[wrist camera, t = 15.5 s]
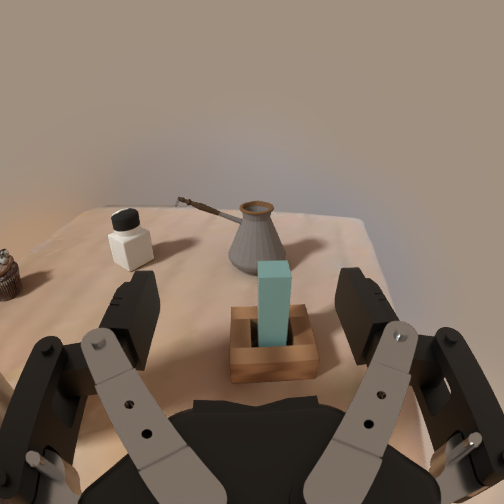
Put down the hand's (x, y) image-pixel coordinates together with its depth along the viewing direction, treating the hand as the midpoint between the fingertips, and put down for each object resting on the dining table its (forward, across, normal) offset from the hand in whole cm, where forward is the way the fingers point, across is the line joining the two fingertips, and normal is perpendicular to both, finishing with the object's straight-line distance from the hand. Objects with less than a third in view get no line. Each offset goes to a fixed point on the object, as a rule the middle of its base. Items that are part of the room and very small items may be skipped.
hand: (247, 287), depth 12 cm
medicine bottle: (+45, +24, +26) cm, 58 cm away
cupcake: (+32, +55, +27) cm, 69 cm away
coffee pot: (+42, +2, +26) cm, 50 cm away
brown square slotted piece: (+18, -4, +25) cm, 31 cm away
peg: (+18, -4, +25) cm, 31 cm away
